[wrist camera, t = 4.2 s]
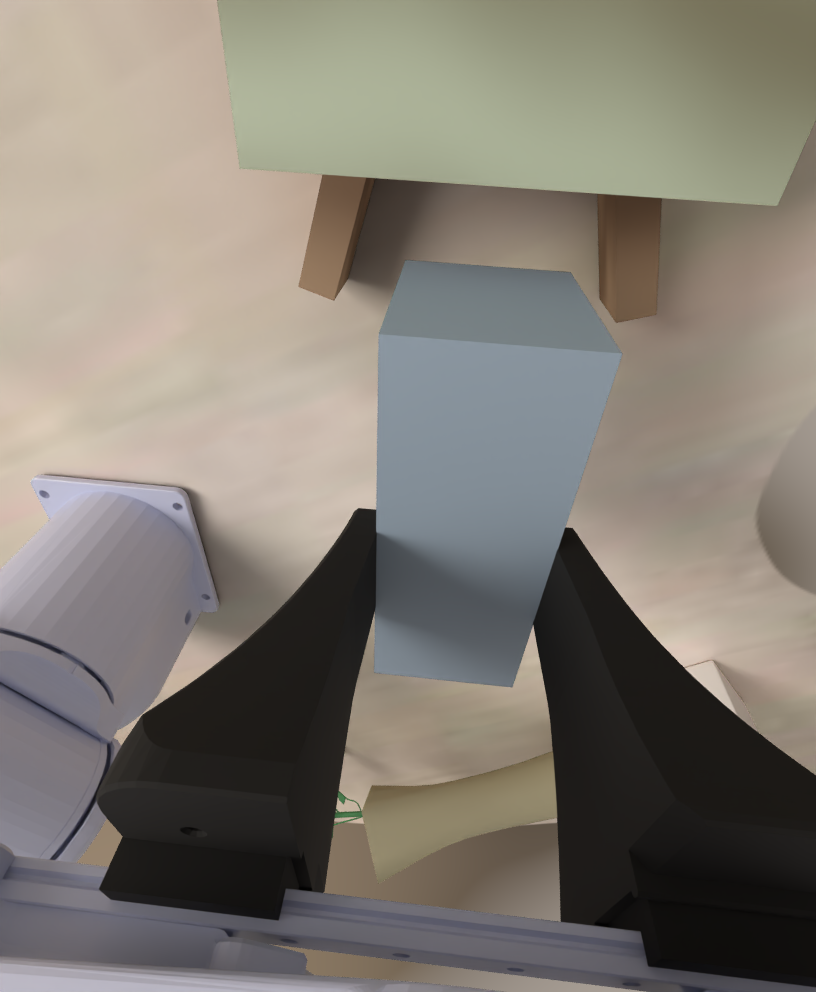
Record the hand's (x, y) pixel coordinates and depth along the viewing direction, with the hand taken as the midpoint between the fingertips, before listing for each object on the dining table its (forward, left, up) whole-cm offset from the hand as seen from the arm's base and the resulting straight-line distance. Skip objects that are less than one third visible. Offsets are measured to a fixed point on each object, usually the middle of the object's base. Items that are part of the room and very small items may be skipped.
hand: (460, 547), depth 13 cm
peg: (+1, 0, -4) cm, 4 cm away
